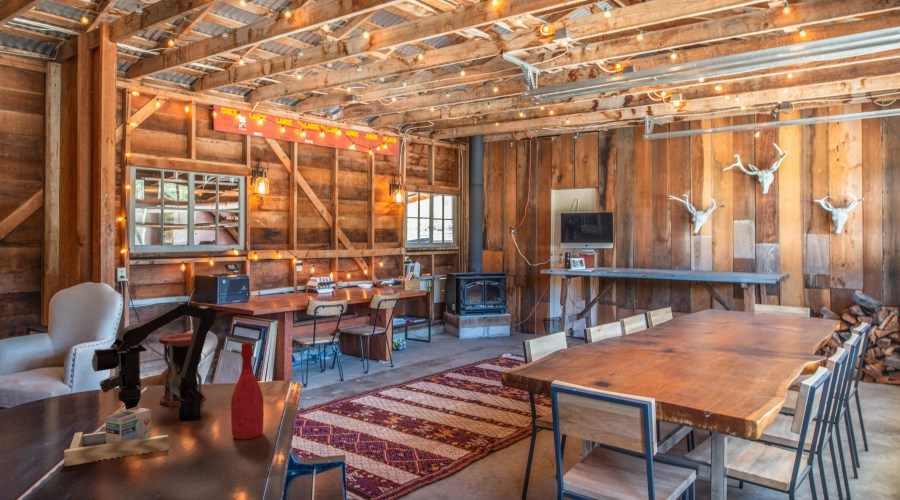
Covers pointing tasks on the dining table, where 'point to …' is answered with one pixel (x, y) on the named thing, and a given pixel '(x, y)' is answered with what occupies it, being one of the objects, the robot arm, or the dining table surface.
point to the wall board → (111, 449)
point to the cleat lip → (94, 438)
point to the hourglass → (177, 355)
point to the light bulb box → (128, 425)
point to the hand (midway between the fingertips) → (130, 413)
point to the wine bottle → (247, 401)
